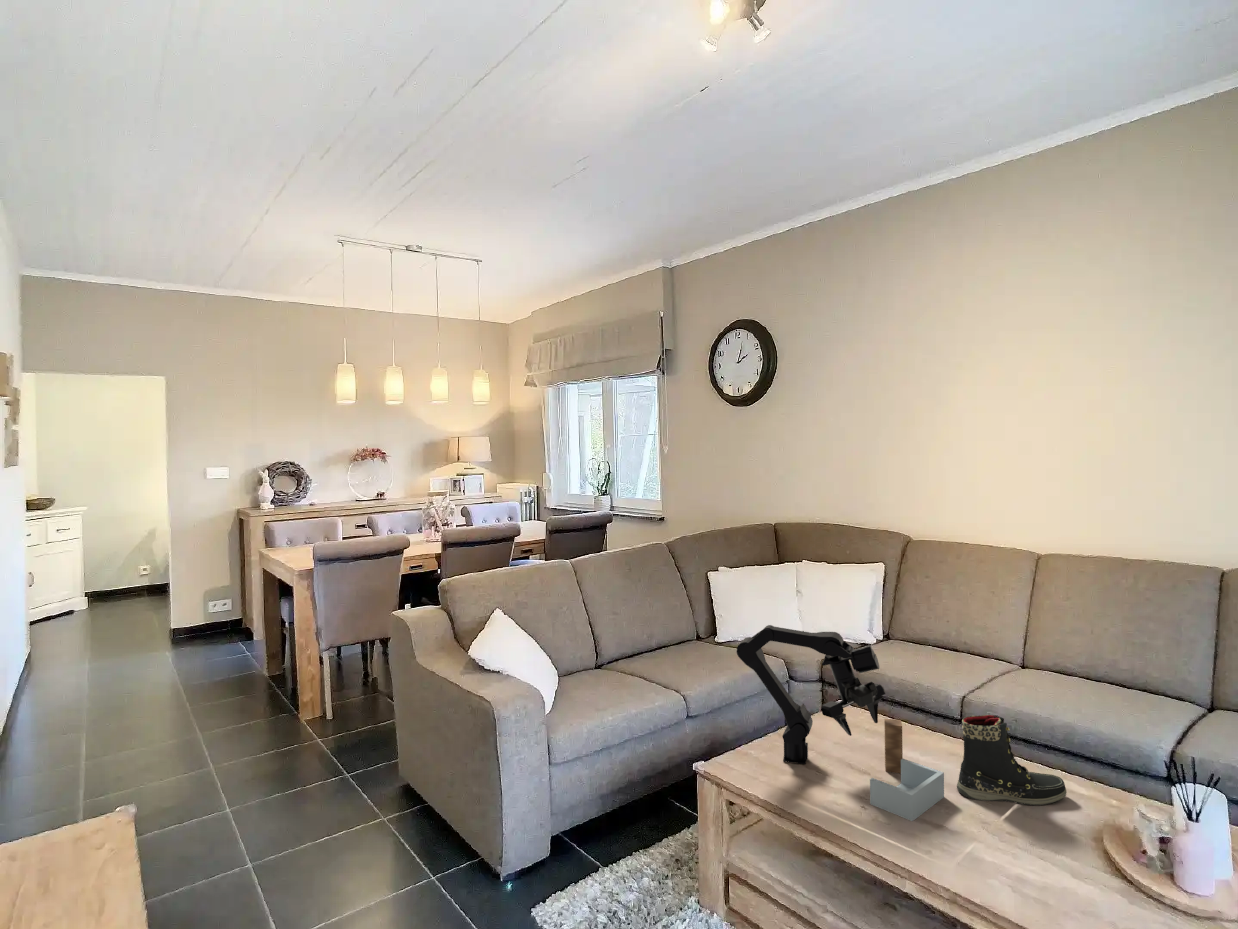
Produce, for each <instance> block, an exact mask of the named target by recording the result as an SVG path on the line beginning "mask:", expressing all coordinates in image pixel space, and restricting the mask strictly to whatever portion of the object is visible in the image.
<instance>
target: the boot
mask: <svg viewBox="0 0 1238 929" xmlns="http://www.w3.org/2000/svg"><path fill="white" fill-rule="evenodd" d="M961 724H962V726H961V728H962V730H963V731H962V734H963V736H962V737H963V759H962V762H961V763H960V771H959V774H958V780H957V783H956V789H957V791H958V792H959V793H960V794H961V795H963V796H964V797H965V798H969V799H971V800H976V801H982V802H983V801H984V802H1010V803H1015V804H1018V805H1019V804H1020V805H1025V806H1045V805H1050V804H1053V803H1056V802H1059V801H1062V800H1063V799H1064V798H1065V797H1066V796H1067V794H1068V793H1067V788H1066V784H1065V781H1064V779H1062V778H1061V776H1057V775H1054V774H1048V773H1039V772H1032V771H1029V770H1028V768H1027V767H1026V766H1024V765H1021V764H1019V763H1018V761H1017V760H1016V758H1015V755H1014V752H1012V746H1011V738H1010V734H1009V733H1008V732H1009V731H1010V727H1008V723H1007V722H1005V718H1004V717H1001V716H998V715H997V714H996V715H995V714H983V715H968V716H965V717H963V718H962V720H961Z"/></svg>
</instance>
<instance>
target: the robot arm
mask: <svg viewBox="0 0 1238 929" xmlns="http://www.w3.org/2000/svg"><path fill="white" fill-rule="evenodd" d="M769 642H776V643H780V644H781V643H782V644H787V645H794V646H798V647H803V648H804V647H805V648H809V649H812V650H813V651H816V652H818V653H819V654H822V655H825V656H824V658H823V661H822V663H821V665H822V666H824V667H825V666H829V668H830V669H831V673H832V675H833V679H834V681H833V685H834V686H836V687H837V690H838V692H839V694H838V698H839V699H840V701H833V700H831V701H827V702H826V703H823V704H821V708H820V711H821V713H822V716H825V717H828V718H831V719H833V720H835V721H836V723H838V724H839V726H840V727H841V728H842V729H843V730H844V732H846V734H847V735H848V736H849V737H850V736H853V734H852V731H851V728H850V726H849V723H848V721H847V718H846V717H847V714H846V713H844V712H845V710H844V708H847V707H849V706H851V705H853V704H856V705H857V706H858V707H859V708H863V707H866V708H867V710H868V712H869V714H870V716H871V719H872V721H873V723H874V724H878V723H879V721H878V720H879V717H878V716H879V714H878V713H879V712H878V711H879V703H880V701H881V700H882V699H883V697H884V696H885V695H886V691H885V688H884V686H883V685H881V684H880V683H879V684H878V683H875V682H873V681H869V682H867V683H865V684H862V683H861V681H860V679H859V677H857V676H856V675H855V673H854V671H855V672H857V673H859V674H862V673H866V672H871V671H876V670H880V663H879V660H878V656H877V654H876V653H875V651H874V649H873V648H872V645H871V644H869V645H865V646H863V647H858V648H854V646H852V645H850V644H849V643H848V642H846V641H845V640H844V638H843V637H842V635H841V634H840V633H838V632H836V631H819V632H809V631H804V630H796V629H793V628H792V629H791V628H784V627H779V626H774V625H772V624H768V625H765V627H763V629H761V630H760V631H758V632H757V633H756V634H754V635H753V636H749V637H745V638H744V639H743V640H741V641H740V643H739V644H738V645H737V647H736V654H737V657H738V658H739V659H740V660H741V661H742V662H743V663H744V665H746V666H747V667H748V668H750V669H751V670H752V671H754V672H755V673H756V675H757V677H758V678H759V679H760V681H761V683H762V684H763V685H764V686H765V688H766V690H767V691H768V693H769V694H770V695H771V697H772V699H773V700H774V701H775V703H776V704H777V706H778V707H779V709H780V710H781V711H782V713H783V716H784V719H785V723H786V727H785V729H784V731H783V733H782V739H783V760H782V762H784V763H789V764H790V763H791V764H792V763H793V764H802V765H806V764H807V761H808V759H809V743H808V742H807V737H808V736H809V734H810V733H811V729H812V727H813V717H812V713H811V712H809V710H808V708H807V707H806V705H805V703H801V705H799V704H798V703H797V702H795V701H794V699H793V697H791V695H790V694H789V692H788V691H787V690H786V688H785V687H784V685H783V683H782V682H781V681H780V679H779V678H778V677H777V675H776V673H774V671H773V669H772V668H771V667H770V665H769V664H768V663H767V659H766V657H765V654H764V650H763V649H762V648H763V647H764V646H765V645H766V644H768V643H769Z"/></svg>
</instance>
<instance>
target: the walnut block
mask: <svg viewBox="0 0 1238 929" xmlns="http://www.w3.org/2000/svg"><path fill="white" fill-rule="evenodd" d="M883 720H884V767H885V768H884V770H885V772H886V773H893V774H894V773H895V774H896V773H897V774H901V759H904V758H903V724H902V720H901V719H893V718H892V719H891V718H883Z"/></svg>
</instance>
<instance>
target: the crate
mask: <svg viewBox="0 0 1238 929" xmlns="http://www.w3.org/2000/svg"><path fill="white" fill-rule="evenodd" d="M869 795H870V796H869V797H870V798H869V805H871V806H873V807H876V808H878V809H881V810H884V811H886V812H888V813H890V814H894V815H896V816H899V817H901V818H903V819H905V820H908V821H911V822H913V821H915V820H916V819H918V818H919V817H920V816H921V815H922V814H924V813H925V812H927V811H928V810H929V809H930V808H932V807H933V806H934V805H935V804H937V803H938V802H940V801H941V800H942V799H944V798H945V772H944V771H941V770H938V769H935V768H932V767H929V766H926V765H923V764H920V763H917V762H916V761H915V762H914V761H911V760H908V759H905V758H903V759H901V773H900V783H899V784H898V785H897V786H895V785H893V784H890V783H887V782H885V781H883V780H879V779H877V778H874V777H871V778H869Z"/></svg>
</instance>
